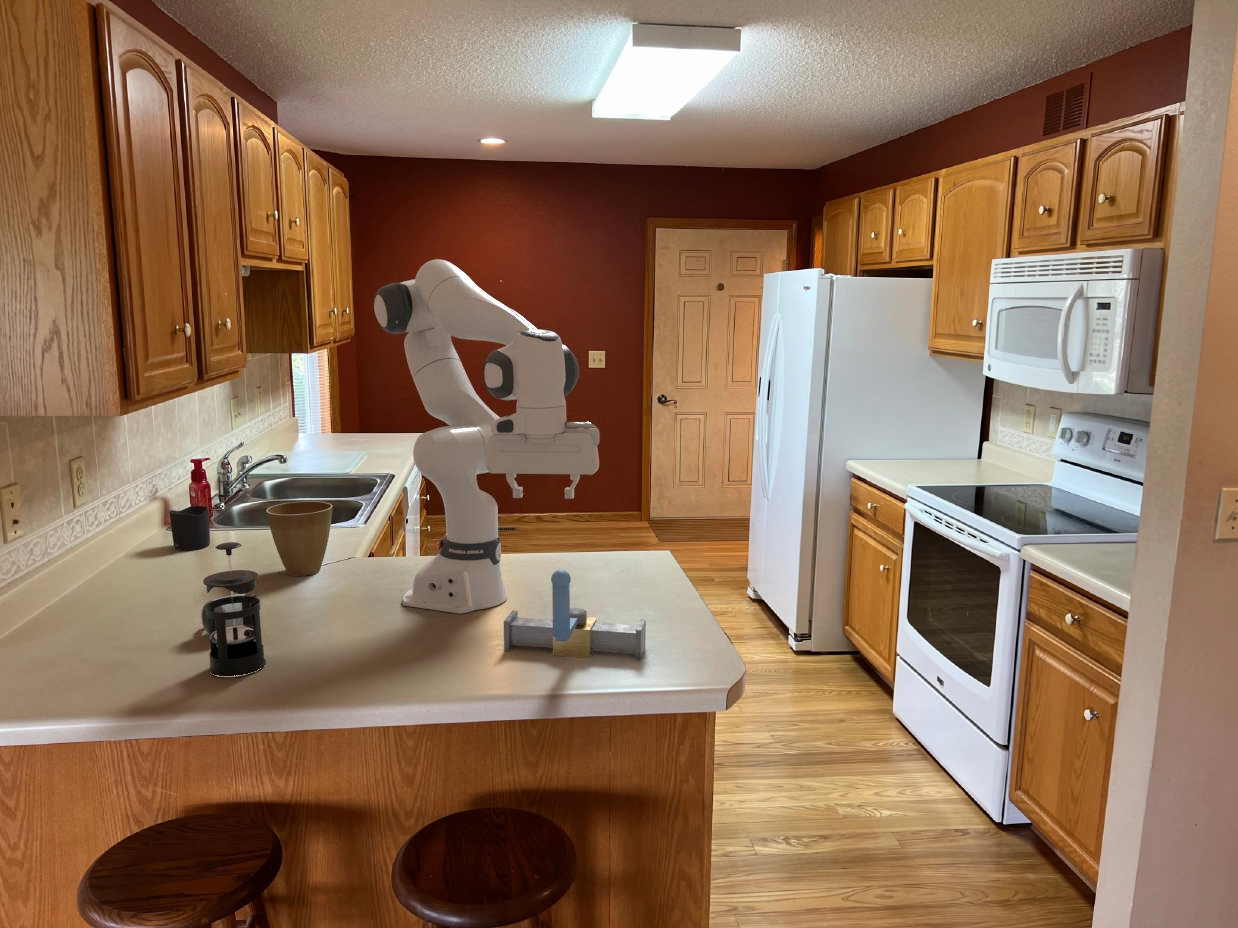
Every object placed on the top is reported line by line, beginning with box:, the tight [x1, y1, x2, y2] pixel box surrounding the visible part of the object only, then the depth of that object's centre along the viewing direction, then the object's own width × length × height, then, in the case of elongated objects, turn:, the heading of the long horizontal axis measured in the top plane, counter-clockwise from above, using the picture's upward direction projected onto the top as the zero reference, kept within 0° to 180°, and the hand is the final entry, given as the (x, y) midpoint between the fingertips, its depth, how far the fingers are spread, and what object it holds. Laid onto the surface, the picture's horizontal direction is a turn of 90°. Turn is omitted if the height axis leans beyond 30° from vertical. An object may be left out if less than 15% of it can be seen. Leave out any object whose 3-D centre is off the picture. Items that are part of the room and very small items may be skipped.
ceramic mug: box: [200, 593, 246, 636], centre depth 180 cm, size 11×8×8 cm
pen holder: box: [168, 505, 211, 552], centre depth 238 cm, size 9×9×10 cm
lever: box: [550, 569, 588, 642], centre depth 164 cm, size 15×4×13 cm, turn 170°
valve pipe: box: [503, 609, 647, 662], centre depth 170 cm, size 26×6×6 cm, turn 80°
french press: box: [202, 541, 267, 676], centre depth 161 cm, size 12×9×23 cm
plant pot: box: [265, 500, 333, 577], centre depth 217 cm, size 15×15×16 cm
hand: (543, 497), depth 163 cm, fingers open, 8 cm apart
